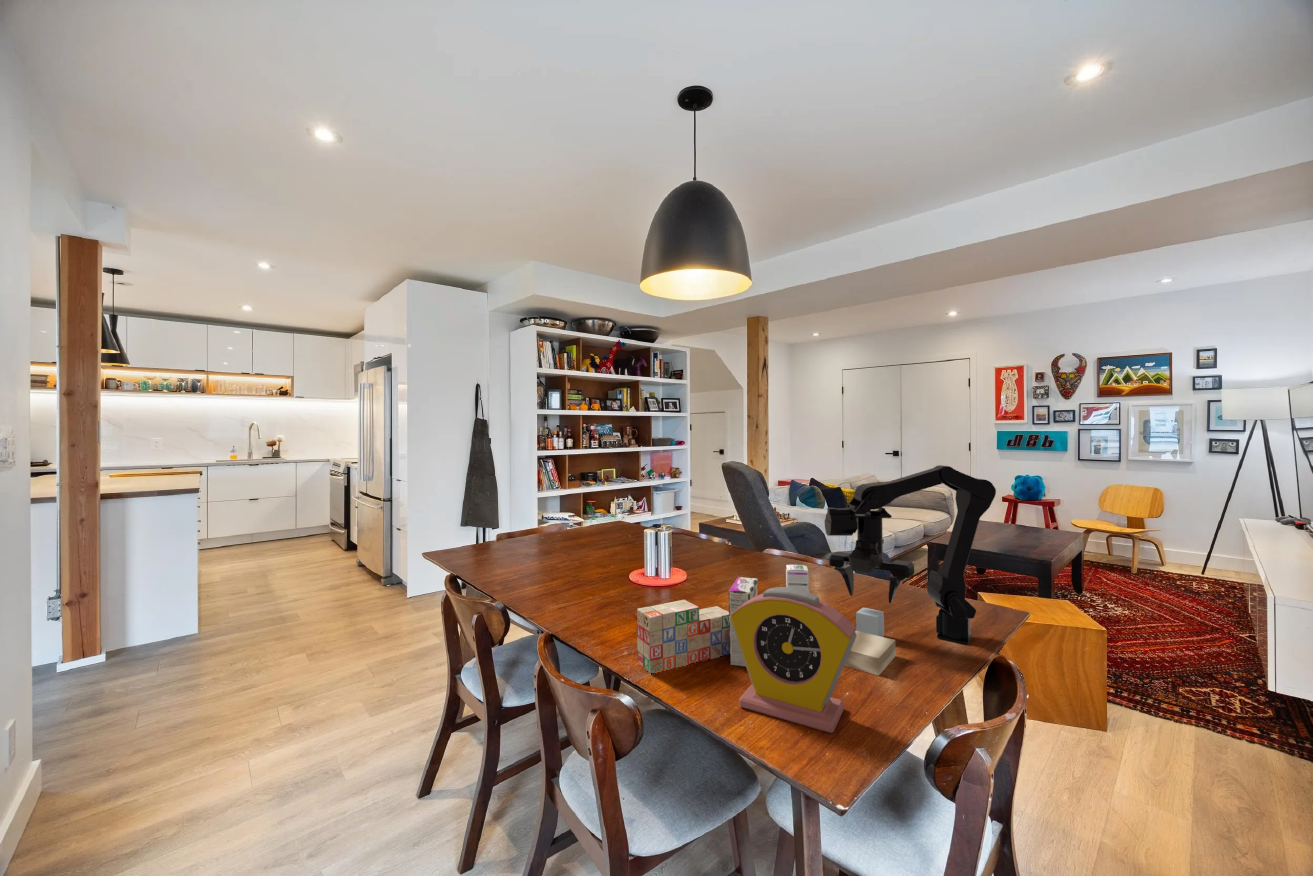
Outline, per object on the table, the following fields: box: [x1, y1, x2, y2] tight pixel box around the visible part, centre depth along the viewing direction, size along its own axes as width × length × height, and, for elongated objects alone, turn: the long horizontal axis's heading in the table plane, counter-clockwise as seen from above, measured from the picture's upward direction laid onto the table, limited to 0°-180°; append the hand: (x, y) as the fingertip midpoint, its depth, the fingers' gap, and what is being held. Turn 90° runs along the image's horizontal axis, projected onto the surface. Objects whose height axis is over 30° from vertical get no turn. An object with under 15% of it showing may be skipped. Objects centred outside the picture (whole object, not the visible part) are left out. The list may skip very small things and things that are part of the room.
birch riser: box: [844, 631, 897, 677], centre depth 112 cm, size 12×12×4 cm
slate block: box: [855, 607, 885, 637], centre depth 124 cm, size 5×5×6 cm
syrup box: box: [785, 564, 810, 592], centre depth 134 cm, size 6×6×14 cm
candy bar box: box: [728, 576, 759, 668], centre depth 113 cm, size 11×5×16 cm, turn 160°
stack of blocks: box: [636, 599, 730, 674], centre depth 112 cm, size 21×6×12 cm, turn 118°
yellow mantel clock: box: [730, 586, 857, 734], centre depth 91 cm, size 22×9×22 cm, turn 58°
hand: (870, 599), depth 124 cm, fingers open, 9 cm apart
